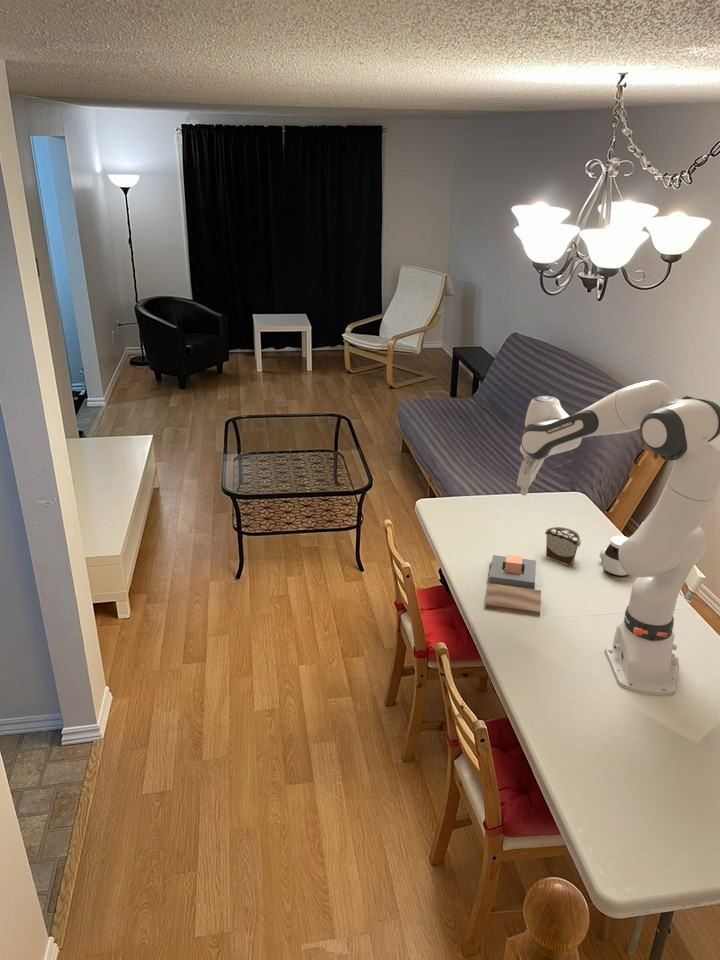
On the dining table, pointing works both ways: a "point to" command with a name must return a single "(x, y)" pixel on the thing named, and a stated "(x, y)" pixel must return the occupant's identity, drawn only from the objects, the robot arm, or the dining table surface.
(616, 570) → the spread jar
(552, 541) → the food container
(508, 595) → the walnut board
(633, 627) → the robot arm
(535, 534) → the dining table surface
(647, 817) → the dining table surface
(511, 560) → the terracotta block
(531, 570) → the pocket plate
